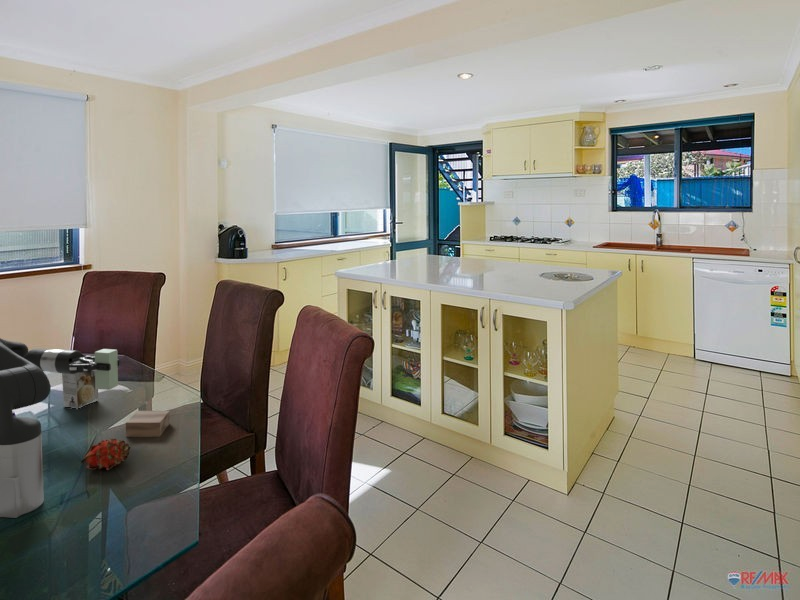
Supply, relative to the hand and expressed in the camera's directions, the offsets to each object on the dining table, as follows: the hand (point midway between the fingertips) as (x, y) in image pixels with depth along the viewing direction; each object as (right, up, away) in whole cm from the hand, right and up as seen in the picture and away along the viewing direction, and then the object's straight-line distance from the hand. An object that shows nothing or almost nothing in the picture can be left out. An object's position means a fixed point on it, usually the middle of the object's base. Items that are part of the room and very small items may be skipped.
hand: (114, 365), depth 152 cm
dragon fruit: (+10, -26, -21) cm, 35 cm away
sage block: (-3, -7, +1) cm, 8 cm away
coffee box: (-25, -17, +21) cm, 37 cm away
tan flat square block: (+9, -22, +4) cm, 24 cm away
